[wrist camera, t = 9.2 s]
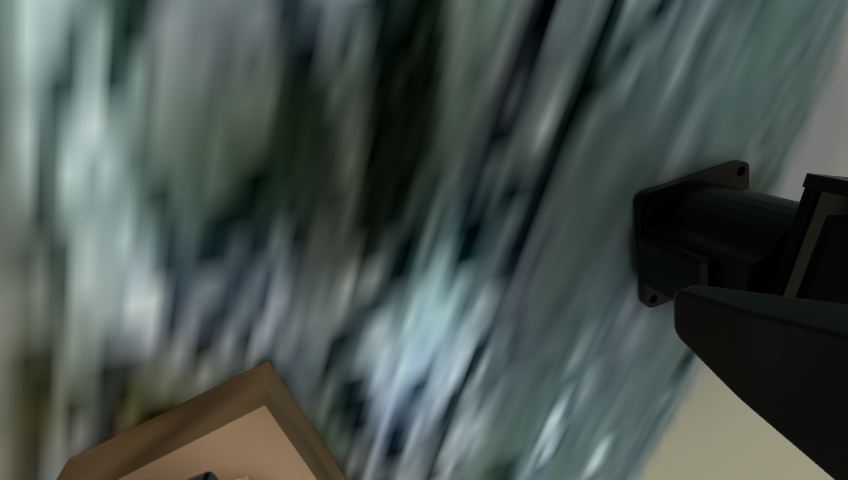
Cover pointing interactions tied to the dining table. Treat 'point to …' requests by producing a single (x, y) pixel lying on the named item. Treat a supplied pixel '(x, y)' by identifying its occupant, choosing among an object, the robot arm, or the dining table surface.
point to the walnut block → (217, 439)
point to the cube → (243, 478)
